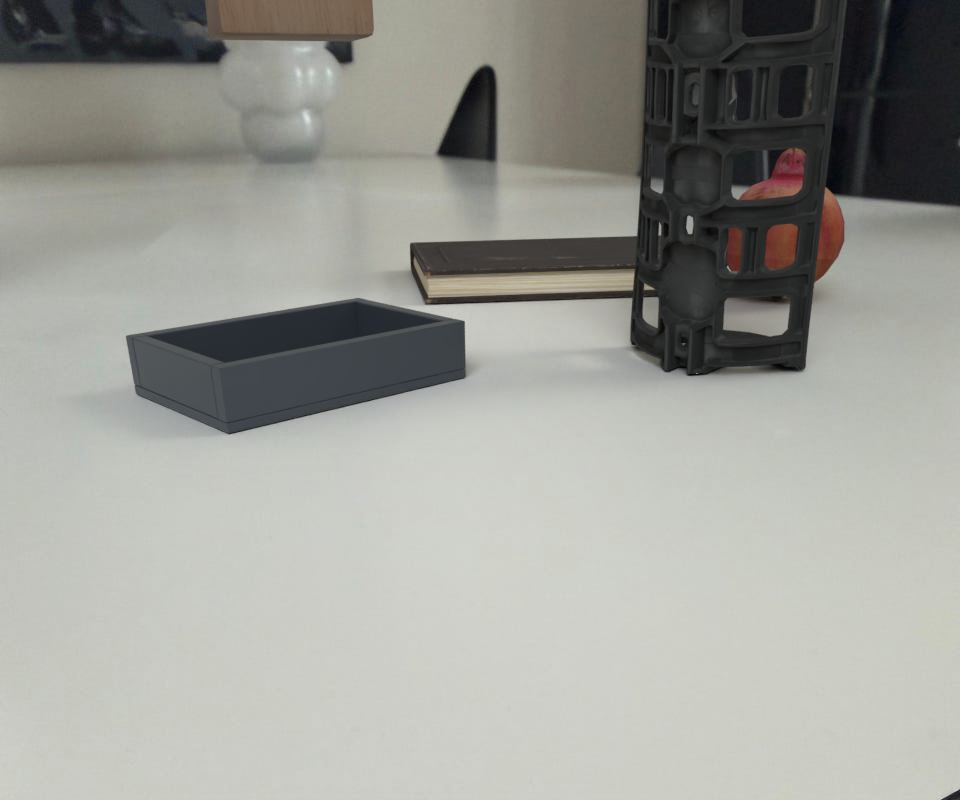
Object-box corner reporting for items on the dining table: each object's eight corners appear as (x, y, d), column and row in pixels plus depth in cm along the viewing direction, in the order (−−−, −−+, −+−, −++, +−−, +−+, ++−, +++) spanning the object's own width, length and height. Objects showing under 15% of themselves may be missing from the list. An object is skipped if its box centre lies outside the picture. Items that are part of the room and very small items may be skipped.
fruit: (705, 291, 76) (719, 145, 72) (809, 289, 77) (829, 143, 72) (736, 312, 69) (753, 151, 64) (850, 309, 70) (876, 149, 65)
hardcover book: (729, 293, 75) (732, 260, 74) (425, 304, 73) (423, 270, 72) (668, 261, 89) (670, 234, 88) (410, 269, 87) (409, 241, 86)
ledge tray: (135, 393, 52) (125, 335, 51) (361, 348, 61) (358, 297, 59) (228, 434, 46) (219, 368, 45) (466, 377, 55) (465, 320, 53)
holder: (827, 351, 57) (878, -75, 46) (790, 395, 52) (836, -73, 41) (647, 334, 63) (654, -53, 52) (596, 373, 57) (591, -49, 46)
